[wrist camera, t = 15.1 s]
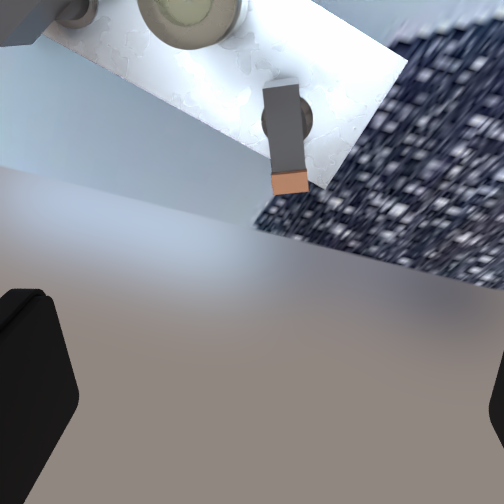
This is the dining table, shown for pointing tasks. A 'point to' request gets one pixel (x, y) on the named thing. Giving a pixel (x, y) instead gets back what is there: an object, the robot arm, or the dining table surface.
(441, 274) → the dining table surface
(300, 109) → the knob
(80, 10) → the knob
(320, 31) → the plate
